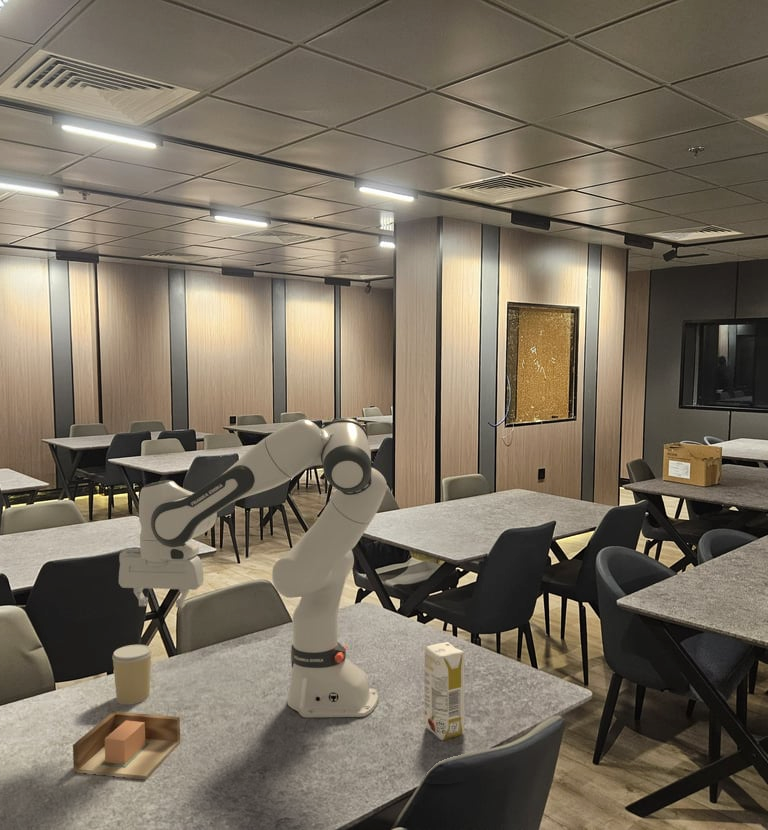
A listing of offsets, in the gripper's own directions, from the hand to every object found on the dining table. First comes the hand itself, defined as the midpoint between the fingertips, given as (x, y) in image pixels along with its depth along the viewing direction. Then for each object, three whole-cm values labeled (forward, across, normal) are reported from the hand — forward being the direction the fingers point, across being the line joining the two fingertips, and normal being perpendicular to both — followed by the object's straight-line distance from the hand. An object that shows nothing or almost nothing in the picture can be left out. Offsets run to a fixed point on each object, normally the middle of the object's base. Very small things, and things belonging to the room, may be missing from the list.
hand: (161, 606), depth 172 cm
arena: (+26, +2, -20) cm, 33 cm away
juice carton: (+27, +67, +2) cm, 72 cm away
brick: (+25, +1, -20) cm, 32 cm away
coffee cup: (+26, -12, +7) cm, 30 cm away
